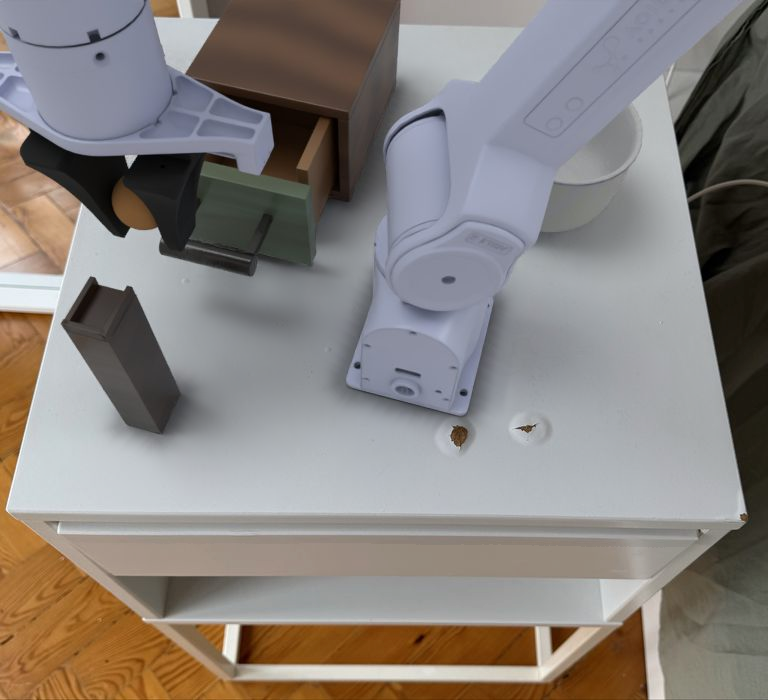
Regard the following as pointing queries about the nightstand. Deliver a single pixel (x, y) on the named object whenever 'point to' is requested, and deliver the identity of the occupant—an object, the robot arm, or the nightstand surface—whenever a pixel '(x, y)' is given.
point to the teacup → (593, 174)
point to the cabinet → (310, 65)
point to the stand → (123, 354)
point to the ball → (131, 208)
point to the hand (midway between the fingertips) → (155, 230)
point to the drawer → (265, 196)
